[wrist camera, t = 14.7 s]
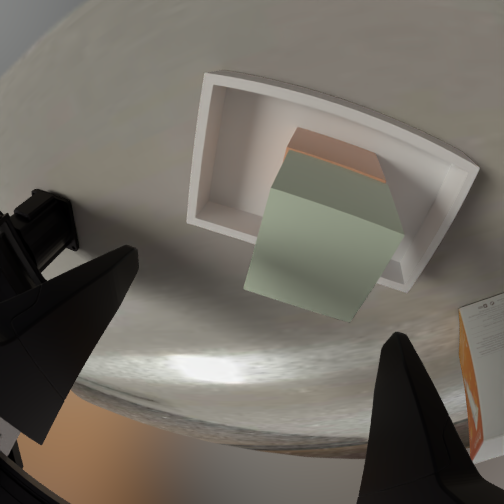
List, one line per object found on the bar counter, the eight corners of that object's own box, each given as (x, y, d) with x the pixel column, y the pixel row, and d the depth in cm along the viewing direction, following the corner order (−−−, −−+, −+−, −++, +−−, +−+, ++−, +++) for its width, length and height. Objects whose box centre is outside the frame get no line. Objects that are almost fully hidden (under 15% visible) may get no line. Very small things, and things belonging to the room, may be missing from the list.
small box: (457, 306, 22) (482, 442, 12) (514, 287, 19) (557, 413, 9) (457, 355, 25) (469, 466, 15) (506, 339, 22) (529, 446, 12)
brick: (348, 219, 20) (349, 259, 16) (278, 196, 20) (264, 231, 17) (375, 153, 17) (386, 181, 13) (297, 126, 17) (286, 146, 13)
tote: (402, 266, 21) (407, 293, 19) (202, 202, 22) (186, 222, 20) (461, 151, 15) (479, 167, 13) (223, 69, 16) (204, 72, 14)
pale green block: (387, 184, 13) (404, 235, 10) (350, 261, 16) (349, 323, 13) (289, 149, 14) (270, 187, 10) (265, 233, 17) (243, 289, 13)
